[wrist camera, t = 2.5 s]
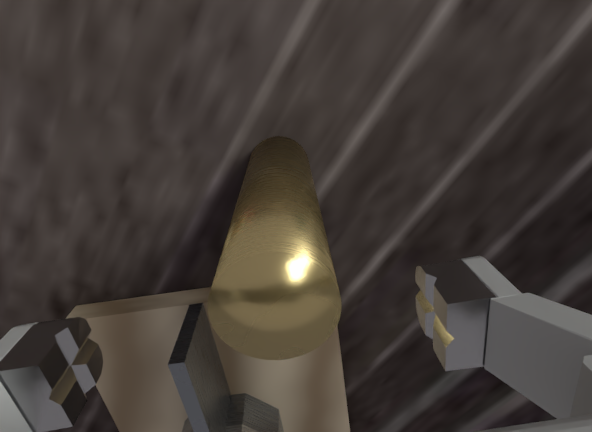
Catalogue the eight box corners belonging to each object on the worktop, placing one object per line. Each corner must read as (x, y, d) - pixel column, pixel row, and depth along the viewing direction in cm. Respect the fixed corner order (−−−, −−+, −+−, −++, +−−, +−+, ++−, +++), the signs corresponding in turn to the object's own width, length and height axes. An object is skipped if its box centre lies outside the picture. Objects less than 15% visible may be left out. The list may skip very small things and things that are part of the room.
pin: (304, 132, 19) (334, 242, 8) (312, 189, 20) (346, 351, 9) (243, 141, 19) (192, 263, 8) (255, 197, 20) (224, 367, 10)
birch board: (329, 270, 23) (332, 284, 21) (355, 484, 32) (359, 504, 30) (75, 305, 23) (62, 321, 22) (173, 507, 32) (168, 527, 31)
